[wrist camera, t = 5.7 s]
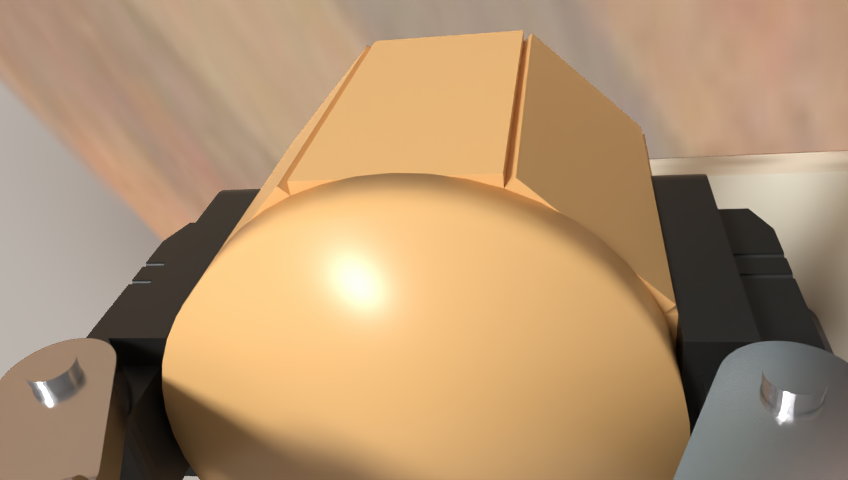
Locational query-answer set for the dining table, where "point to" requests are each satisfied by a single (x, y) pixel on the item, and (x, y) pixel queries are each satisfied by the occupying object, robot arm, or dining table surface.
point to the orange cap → (440, 287)
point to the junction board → (792, 220)
